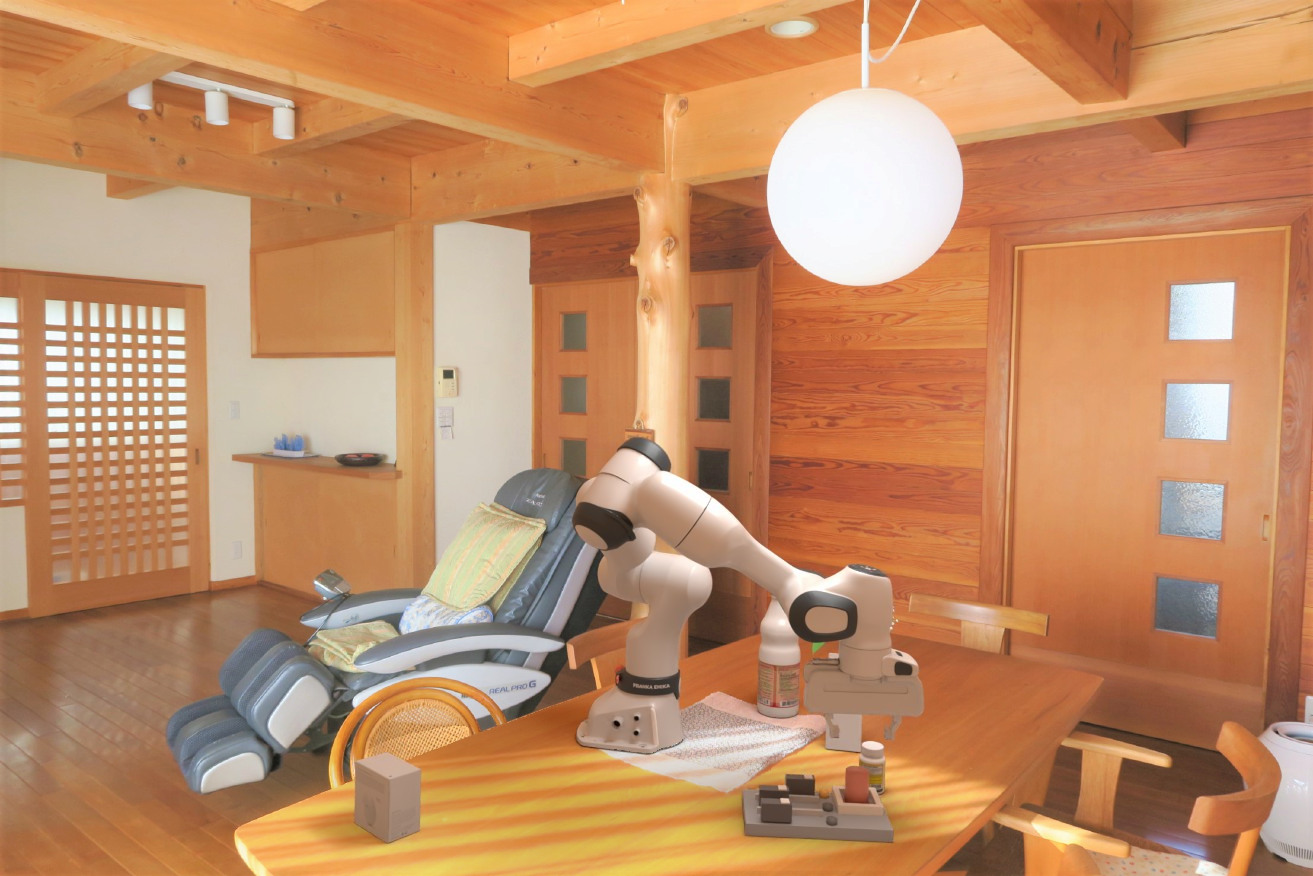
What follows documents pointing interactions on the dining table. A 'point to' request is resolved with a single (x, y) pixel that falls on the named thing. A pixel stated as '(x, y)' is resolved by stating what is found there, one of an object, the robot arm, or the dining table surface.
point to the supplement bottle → (874, 764)
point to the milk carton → (845, 729)
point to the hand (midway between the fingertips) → (861, 738)
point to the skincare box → (387, 796)
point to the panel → (822, 817)
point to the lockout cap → (856, 785)
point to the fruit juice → (778, 665)
